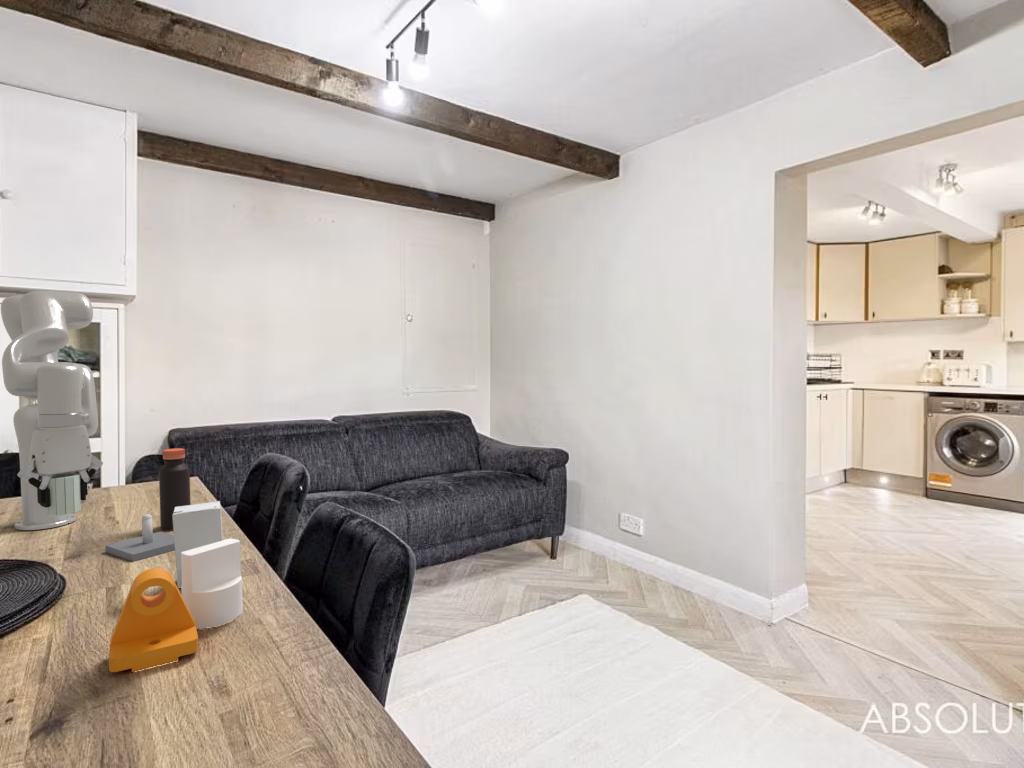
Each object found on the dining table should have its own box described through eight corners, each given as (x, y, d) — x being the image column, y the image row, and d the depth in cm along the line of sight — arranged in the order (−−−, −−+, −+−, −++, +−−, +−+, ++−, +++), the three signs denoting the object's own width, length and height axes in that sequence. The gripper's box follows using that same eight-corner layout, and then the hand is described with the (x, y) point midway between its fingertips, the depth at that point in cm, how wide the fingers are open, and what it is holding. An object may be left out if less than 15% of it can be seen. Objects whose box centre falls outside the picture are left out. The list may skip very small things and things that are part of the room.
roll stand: (105, 551, 130) (104, 516, 129) (160, 537, 140) (159, 504, 140) (133, 561, 124) (132, 524, 123) (189, 545, 134) (188, 511, 134)
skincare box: (224, 572, 117) (222, 500, 117) (224, 582, 112) (222, 506, 111) (177, 579, 114) (174, 504, 113) (174, 590, 108) (172, 512, 108)
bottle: (154, 528, 147) (152, 450, 146) (178, 521, 154) (176, 447, 153) (173, 531, 145) (170, 452, 144) (197, 524, 151) (195, 448, 150)
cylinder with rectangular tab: (202, 634, 91) (199, 559, 90) (171, 620, 96) (169, 549, 95) (253, 613, 99) (252, 543, 98) (223, 601, 103) (221, 535, 103)
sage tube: (41, 512, 126) (39, 476, 125) (73, 506, 131) (72, 471, 130) (53, 517, 123) (52, 480, 122) (86, 510, 128) (84, 474, 127)
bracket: (109, 679, 78) (106, 592, 78) (111, 656, 84) (108, 575, 84) (198, 657, 84) (196, 576, 84) (194, 637, 90) (192, 561, 90)
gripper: (96, 416, 135) (99, 492, 136) (3, 424, 120) (6, 509, 121) (113, 418, 131) (115, 496, 132) (18, 427, 116) (22, 515, 117)
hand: (63, 502), depth 127 cm, fingers closed on sage tube, 6 cm apart
